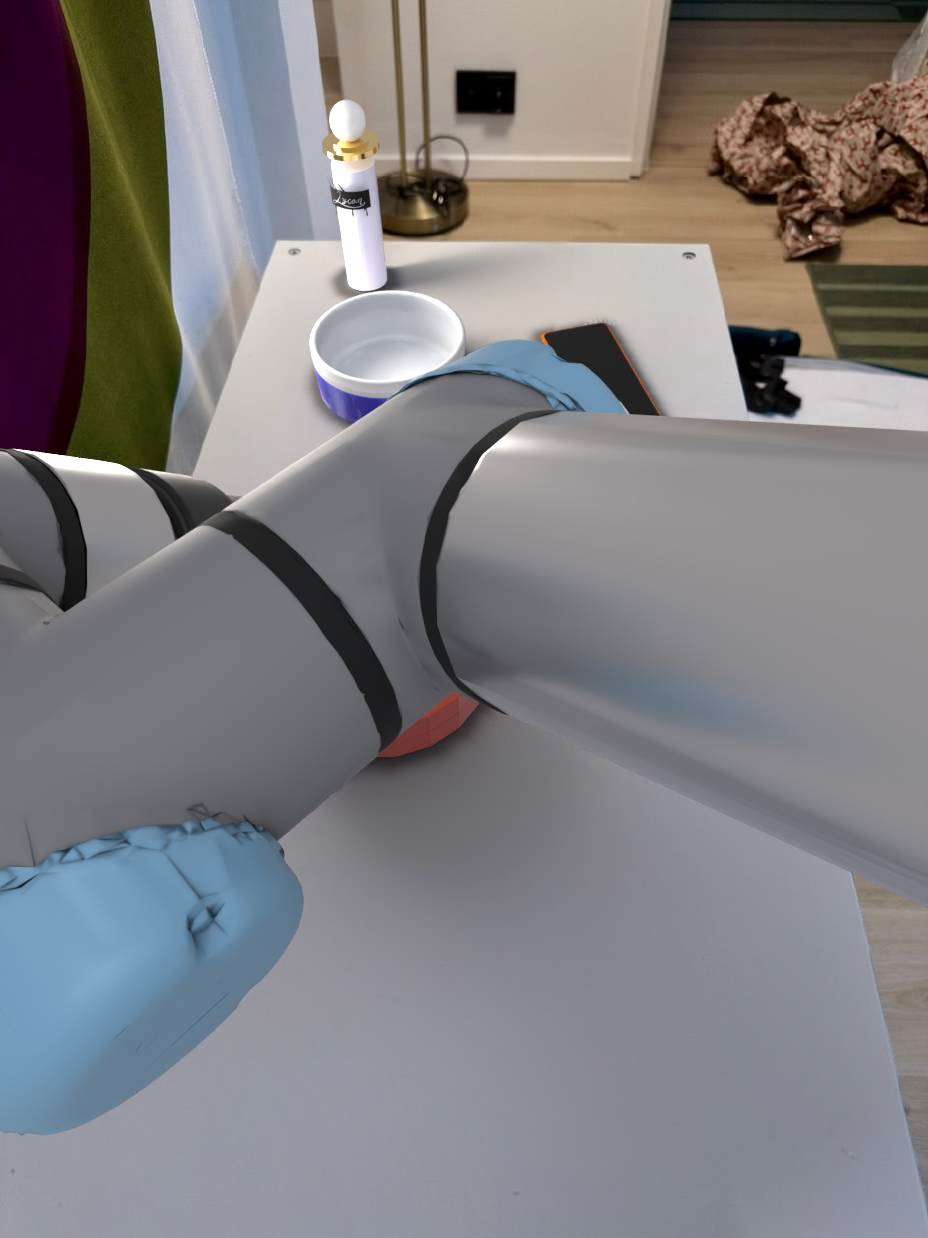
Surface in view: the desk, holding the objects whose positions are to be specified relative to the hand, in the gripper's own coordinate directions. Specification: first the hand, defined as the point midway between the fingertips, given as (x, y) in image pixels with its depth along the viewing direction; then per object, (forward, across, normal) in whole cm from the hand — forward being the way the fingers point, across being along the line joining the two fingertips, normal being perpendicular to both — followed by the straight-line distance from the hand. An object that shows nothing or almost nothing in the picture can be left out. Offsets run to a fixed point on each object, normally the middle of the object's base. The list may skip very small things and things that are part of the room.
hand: (420, 575), depth 53 cm
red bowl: (+15, -7, -12) cm, 20 cm away
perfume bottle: (+43, -42, +16) cm, 63 cm away
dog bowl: (+35, -29, +8) cm, 46 cm away
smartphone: (+43, -12, +17) cm, 48 cm away
